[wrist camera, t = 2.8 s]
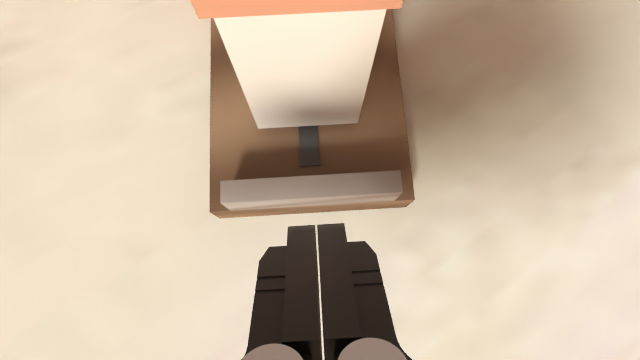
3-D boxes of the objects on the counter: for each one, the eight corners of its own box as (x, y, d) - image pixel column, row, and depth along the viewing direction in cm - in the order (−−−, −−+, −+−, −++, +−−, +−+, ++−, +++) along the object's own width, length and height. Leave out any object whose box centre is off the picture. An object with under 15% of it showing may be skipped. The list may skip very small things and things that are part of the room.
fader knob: (364, 128, 20) (412, -30, 10) (252, 134, 20) (181, -19, 9) (356, 47, 21) (392, -172, 11) (250, 52, 21) (185, -164, 11)
